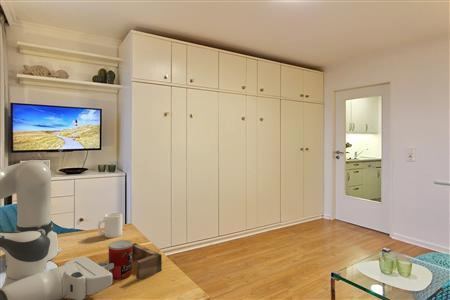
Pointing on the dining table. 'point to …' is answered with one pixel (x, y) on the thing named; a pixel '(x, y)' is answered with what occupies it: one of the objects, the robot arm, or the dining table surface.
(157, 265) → the corral
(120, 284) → the dining table surface
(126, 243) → the canned food
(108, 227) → the cup
